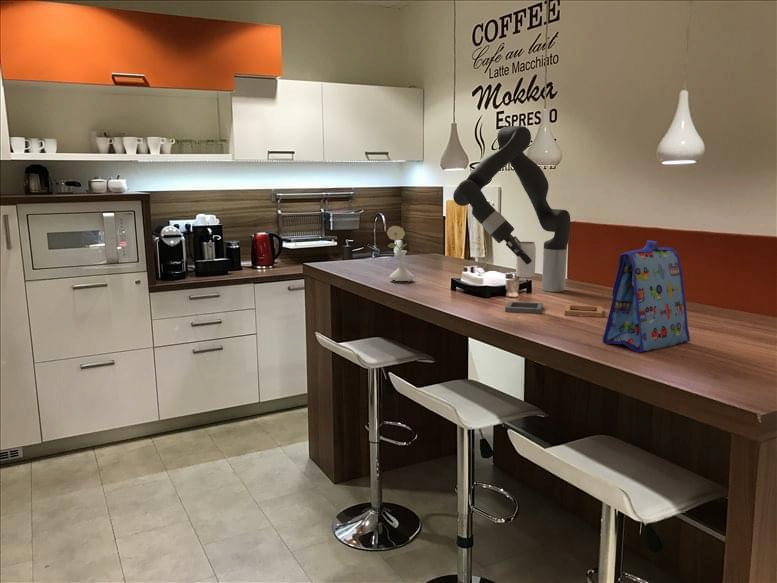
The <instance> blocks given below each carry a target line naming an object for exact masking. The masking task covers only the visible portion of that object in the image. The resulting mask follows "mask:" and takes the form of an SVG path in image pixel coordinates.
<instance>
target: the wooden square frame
mask: <svg viewBox="0 0 777 583" xmlns="http://www.w3.org/2000/svg"><path fill="white" fill-rule="evenodd" d="M571 309H582V310H571ZM589 310H597V311H589ZM572 315H582V316H581V317H589V316H597V317H596V318H603V308H602V305H588V304H587V305H584V304H568V303H567V304H566V303H565V307H564V316H572Z"/></svg>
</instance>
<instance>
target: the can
mask: <svg viewBox="0 0 777 583" xmlns="http://www.w3.org/2000/svg"><path fill="white" fill-rule="evenodd" d="M519 244H520V245H521V249H522V250H524V252H525V253H526V254H527V255H528V256H529V257H530V258H531V259H532V261H531V262H530V263H529V264H526V263H525V262H524V261H523V260H522V259H521V258H520V257H518V256H516V262H515V263H516V264H515V273H516V274H515V275H516V277H517V278H522V279H525V278H526V279H530V278H531V279H532V278H535V277H536V260H537V259H536V258H537V255H536V254H537V252H536V251H537V246H536V244H535V241H520V242H519Z"/></svg>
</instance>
